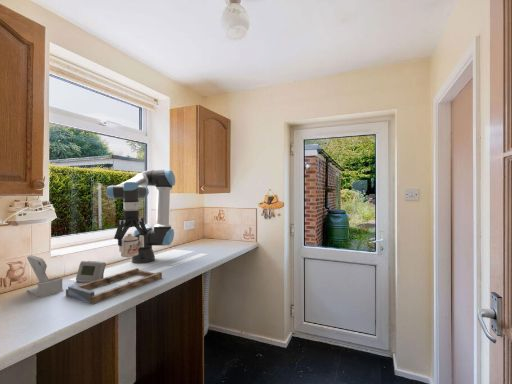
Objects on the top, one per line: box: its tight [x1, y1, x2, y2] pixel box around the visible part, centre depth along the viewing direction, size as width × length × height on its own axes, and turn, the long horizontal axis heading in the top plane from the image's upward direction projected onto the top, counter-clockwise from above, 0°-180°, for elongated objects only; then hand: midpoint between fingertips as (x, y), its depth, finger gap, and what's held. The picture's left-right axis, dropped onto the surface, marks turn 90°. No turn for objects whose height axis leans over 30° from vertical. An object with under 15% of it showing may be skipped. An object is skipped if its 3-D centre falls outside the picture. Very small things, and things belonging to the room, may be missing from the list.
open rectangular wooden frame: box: [65, 267, 163, 305], centre depth 140 cm, size 39×21×4 cm, turn 152°
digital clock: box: [75, 260, 107, 284], centre depth 148 cm, size 16×9×11 cm, turn 66°
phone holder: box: [26, 254, 64, 298], centre depth 134 cm, size 17×10×18 cm, turn 57°
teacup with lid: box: [120, 233, 141, 258], centre depth 148 cm, size 12×9×12 cm
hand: (132, 249), depth 148 cm, fingers closed on teacup with lid, 12 cm apart
